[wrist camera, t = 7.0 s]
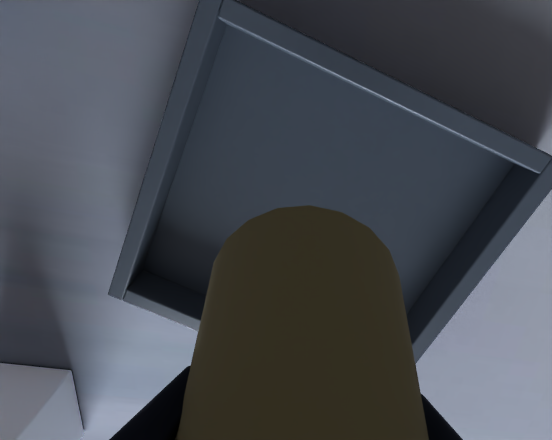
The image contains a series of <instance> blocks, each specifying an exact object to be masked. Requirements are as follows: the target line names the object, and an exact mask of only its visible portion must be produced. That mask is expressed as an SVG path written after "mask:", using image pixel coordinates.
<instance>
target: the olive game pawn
mask: <svg viewBox="0 0 552 440" xmlns="http://www.w3.org/2000/svg"><path fill="white" fill-rule="evenodd" d="M175 440H429V437H428V432H427V426H426V421H425V415H424V410H423V404H422V399H421V393H420V388H419V382H418V377H417V371H416V365H415V360H414V354H413V349H412V343H411V338H410V332H409V327H408V321H407V316H406V310H405V305H404V299H403V294H402V288H401V283H400V277H399V274H398V271H397V268H396V266H395V263H394V261H393V258H392V256H391V253H390V251H389V249H388V248H387V247H386V246H385V244H384V243H383V242H382V241H381V240H380V239H379V238H378V237H377V236H376V234H375V233H374V232H373V231H372V230H371V229H370V228H369V227H367V226H366V225H364V224H362V223H360V222H359V221H357V220H355V219H353V218H351V217H350V216H348V215H346V214H344V213H343V212H339V211H334V210H330V209H325V208H320V207H316V206H311V205H307V206H295V207H284V208H276V209H274V210H271V211H269V212H267V213H264V214H262V215H259V216H257V217H254V218H252V219H249V220H248V221H247V222H246V223H244V224H243V225H242V226H241V227H240V228H239V229H237V230H236V231H235V232H234V233H233V234H232V235H230V236H229V237H228V238H227V239H226V241H225V243H224V245H223V246H222V248H221V250H220V252H219V253H218V255H217V257H216V259H215V261H214V263H213V268H212V272H211V277H210V281H209V286H208V290H207V295H206V299H205V304H204V308H203V313H202V317H201V322H200V326H199V331H198V335H197V340H196V344H195V349H194V353H193V358H192V362H191V367H190V372H189V376H188V381H187V385H186V390H185V394H184V401H183V409H182V415H181V421H180V425H179V428H178V431H177V434H176V437H175Z"/></svg>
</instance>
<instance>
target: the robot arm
mask: <svg viewBox="0 0 552 440" xmlns="http://www.w3.org/2000/svg"><path fill="white" fill-rule="evenodd" d="M190 367H191V366H188V367H187V368H185V369H184V370H183V371H182V372H181V373H180V374H179V375H178V376H177V377H176V378H175V379H174V380H173V381H171V382H170V383H169V384H168V385H167V386H166V387H165V388H164V389H163V390H162V391H161V392H160V393H159V394H158V395H157V396H155V397H154V398H153V399H152V400H151V401H150V402H149V403H148V404H147V405H146V406H145V407H144V408H143V409H142V410H141V411H139V412H138V413H137V414H136V415H135V416H134V417H133V418H132V419H131V420H130V421H129V422H128V423H127V424H126V425H124V426H123V427H122V428H121V429H120V430H119V431H118V432H117V433H116V434H115V435H114V436H113V437H112V438H111V439H110V440H175V437H176V434H177V431H178V428H179V425H180V421H181V415H182V409H183V401H184V394H185V390H186V385H187V381H188V376H189V372H190ZM421 399H422V404H423V410H424V415H425V421H426V426H427V432H428V437H429V440H463V439H462V438H461V437H460V436H459V435H458V434H457V433H456V432H455V430H454V429H453V428H452V427H451V426H450V425H449V424H448V423H447V421H446V420H445V419H444V418H443V417H442V416H441V415H440V414H439V412H438V411H437V410H436V409H435V408H434V407H433V406H432V405H431V403H430V402H429V401H428V400H427V399H426V398H425V397H424V396H423V395H422V394H421Z"/></svg>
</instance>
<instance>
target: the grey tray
mask: <svg viewBox="0 0 552 440" xmlns="http://www.w3.org/2000/svg"><path fill="white" fill-rule="evenodd" d="M551 189H552V156H551V155H549V154H547V153H545V152H543V151H541V150H539V149H537V148H535V147H533V146H531V145H529V144H527V143H525V142H523V141H521V140H519V139H517V138H515V137H513V136H511V135H509V134H507V133H505V132H503V131H501V130H499V129H497V128H495V127H493V126H490V125H488V124H486V123H484V122H482V121H480V120H478V119H476V118H474V117H472V116H470V115H468V114H466V113H464V112H462V111H460V110H458V109H456V108H454V107H452V106H450V105H448V104H446V103H444V102H442V101H440V100H438V99H436V98H434V97H432V96H429V95H427V94H425V93H423V92H421V91H419V90H417V89H415V88H413V87H411V86H409V85H407V84H405V83H403V82H401V81H399V80H397V79H395V78H393V77H391V76H389V75H387V74H385V73H383V72H381V71H379V70H377V69H375V68H373V67H371V66H368V65H366V64H364V63H362V62H360V61H358V60H356V59H354V58H352V57H350V56H348V55H346V54H344V53H342V52H340V51H338V50H336V49H334V48H332V47H330V46H328V45H326V44H324V43H322V42H320V41H318V40H316V39H314V38H312V37H310V36H307V35H305V34H303V33H301V32H299V31H297V30H295V29H293V28H291V27H289V26H287V25H285V24H283V23H281V22H279V21H277V20H275V19H273V18H271V17H269V16H267V15H265V14H263V13H261V12H259V11H257V10H255V9H253V8H251V7H249V6H246V5H244V4H242V3H240V2H238V1H236V0H199V3H198V6H197V9H196V13H195V16H194V19H193V22H192V25H191V29H190V32H189V35H188V38H187V41H186V45H185V48H184V51H183V54H182V58H181V61H180V64H179V67H178V70H177V74H176V77H175V80H174V83H173V87H172V90H171V93H170V96H169V99H168V103H167V106H166V109H165V112H164V115H163V119H162V122H161V125H160V128H159V132H158V135H157V138H156V141H155V144H154V148H153V151H152V154H151V157H150V161H149V164H148V167H147V170H146V173H145V177H144V180H143V183H142V186H141V190H140V193H139V196H138V199H137V202H136V206H135V209H134V212H133V215H132V218H131V222H130V225H129V228H128V231H127V235H126V238H125V241H124V244H123V247H122V251H121V254H120V257H119V260H118V264H117V267H116V270H115V273H114V276H113V280H112V283H111V286H110V289H109V292H108V295H110V296H112V297H114V298H117V299H119V300H123V301H124V302H127V303H129V304H132V305H134V306H136V307H139V308H141V309H144V310H146V311H149V312H151V313H154V314H156V315H158V316H161V317H163V318H166V319H168V320H171V321H173V322H175V323H178V324H180V325H183V326H185V327H188V328H190V329H193V330H195V331H197V332H198V331H199V326H200V322H201V317H202V313H203V308H204V304H205V299H206V295H207V290H208V286H209V281H210V277H211V272H212V268H213V263H214V261H215V259H216V257H217V255H218V253H219V252H220V250H221V248H222V246H223V245H224V243H225V241H226V239H227V238H228V237H229V236H230V235H232V234H233V233H234V232H235V231H236V230H237V229H239V228H240V227H241V226H242V225H243V224H244V223H246V222H247V221H248V220H249V219H252V218H254V217H257V216H259V215H262V214H264V213H267V212H269V211H271V210H274V209H276V208H284V207H295V206H307V205H311V206H316V207H320V208H325V209H330V210H334V211H339V212H343V213H344V214H346V215H348V216H350V217H351V218H353V219H355V220H357V221H359V222H360V223H362V224H364V225H366V226H367V227H369V228H370V229H371V230H372V231H373V232H374V233H375V234H376V236H377V237H378V238H379V239H380V240H381V241H382V242H383V243H384V244H385V246H386V247H387V248H388V249H389V251H390V253H391V256H392V258H393V261H394V263H395V266H396V268H397V271H398V274H399V277H400V283H401V288H402V294H403V299H404V305H405V310H406V316H407V321H408V327H409V332H410V338H411V343H412V349H413V354H414V360H415V364H416V363H417V361H418V360H419V359H420V357H421V356H422V355H423V354H424V352H425V351H426V350H427V348H428V347H429V346H430V345H431V343H432V342H433V341H434V339H435V338H436V337H437V336H438V334H439V333H440V332H441V330H442V329H443V328H444V327H445V325H446V324H447V323H448V321H449V320H450V319H451V318H452V316H453V315H454V314H455V312H456V311H457V310H458V309H459V307H460V306H461V305H462V304H463V302H464V301H465V300H466V298H467V297H468V296H469V295H470V293H471V292H472V291H473V289H474V288H475V287H476V286H477V284H478V283H479V282H480V280H481V279H482V278H483V277H484V275H485V274H486V273H487V271H488V270H489V269H490V268H491V266H492V265H493V264H494V262H495V261H496V260H497V259H498V257H499V256H500V255H501V253H502V252H503V251H504V250H505V248H506V247H507V246H508V244H509V243H510V242H511V241H512V239H513V238H514V237H515V235H516V234H517V233H518V232H519V230H520V229H521V228H522V226H523V225H524V224H525V223H526V221H527V220H528V219H529V217H530V216H531V215H532V214H533V212H534V211H535V210H536V208H537V207H538V206H539V205H540V203H541V202H542V201H543V199H544V198H545V197H546V196H547V194H548V193H549V192H550V190H551Z"/></svg>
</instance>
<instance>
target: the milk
mask: <svg viewBox="0 0 552 440" xmlns="http://www.w3.org/2000/svg"><path fill="white" fill-rule="evenodd" d="M83 436H84V431H83V426H82V421H81V416H80V411H79V406H78V401H77V396H76V391H75V385H74V380H73V375H72V371H71V370H64V369H54V368H44V367H35V366H25V365H15V364H6V363H0V440H81V439H82V438H83Z"/></svg>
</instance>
